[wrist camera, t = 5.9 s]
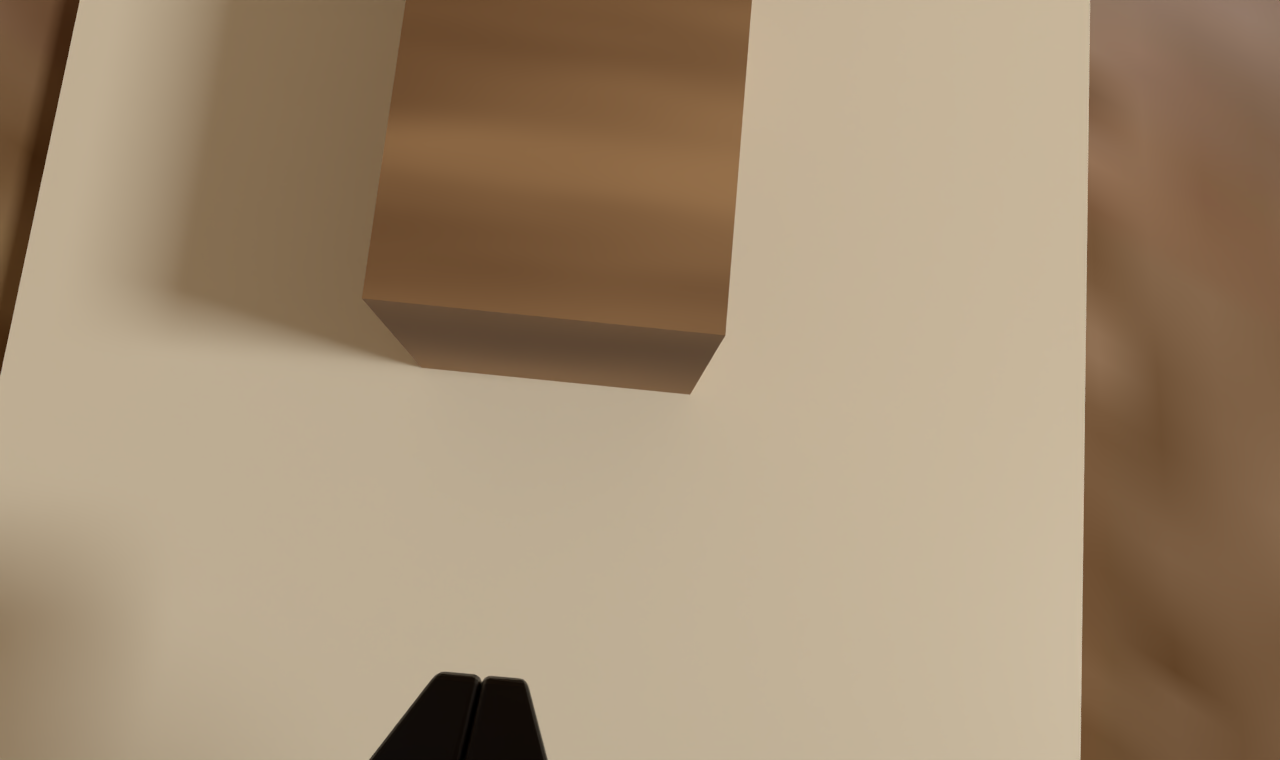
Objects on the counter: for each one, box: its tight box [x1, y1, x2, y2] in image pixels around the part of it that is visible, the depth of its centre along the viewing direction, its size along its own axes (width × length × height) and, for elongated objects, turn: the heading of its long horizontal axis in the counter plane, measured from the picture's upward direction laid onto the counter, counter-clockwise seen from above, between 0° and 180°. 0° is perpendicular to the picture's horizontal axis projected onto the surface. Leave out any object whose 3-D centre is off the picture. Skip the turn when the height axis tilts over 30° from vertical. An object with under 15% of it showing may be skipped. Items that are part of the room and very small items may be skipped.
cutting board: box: [0, 0, 1090, 760], centre depth 17 cm, size 22×18×1 cm
